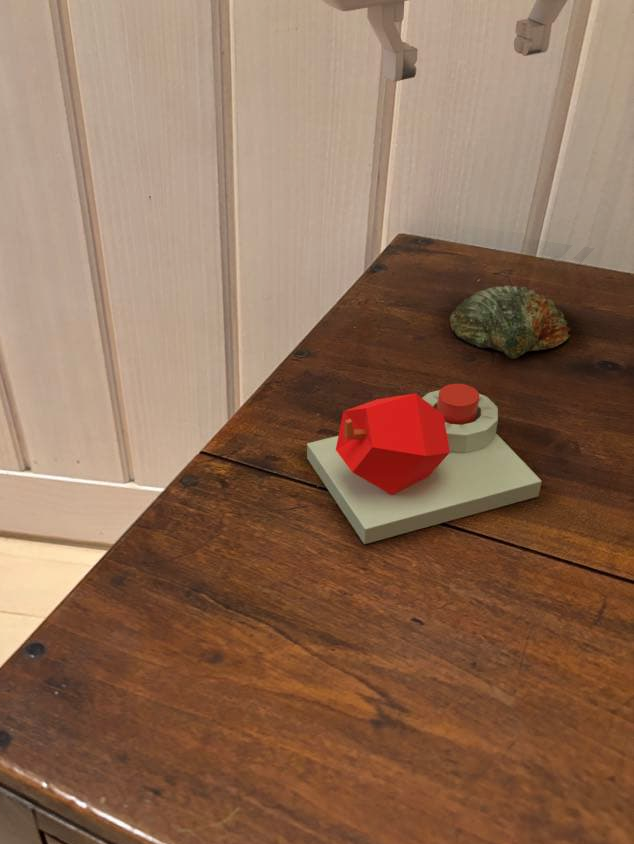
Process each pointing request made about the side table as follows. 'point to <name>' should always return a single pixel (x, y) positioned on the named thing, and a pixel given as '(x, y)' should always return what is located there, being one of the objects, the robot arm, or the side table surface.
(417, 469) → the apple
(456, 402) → the button
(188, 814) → the side table surface
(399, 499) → the scale
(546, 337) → the seashell
